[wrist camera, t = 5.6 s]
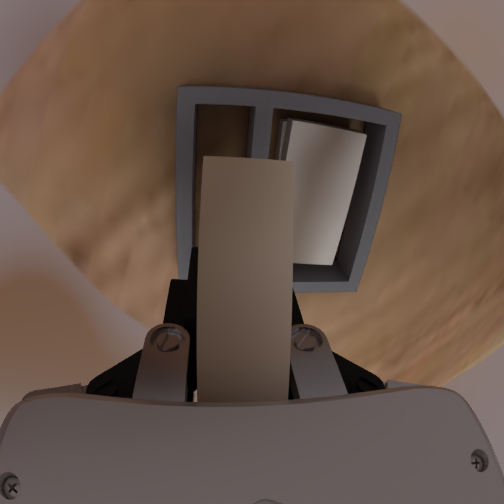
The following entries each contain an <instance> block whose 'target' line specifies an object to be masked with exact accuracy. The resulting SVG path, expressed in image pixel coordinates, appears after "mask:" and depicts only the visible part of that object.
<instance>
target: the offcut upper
mask: <svg viewBox="0 0 504 504" xmlns="http://www.w3.org/2000/svg"><path fill="white" fill-rule="evenodd" d="M366 137H367V135H366V134H364V133H362V132H360V131H358V130H354V129H349V128H344V127H340V126H335V125H330V124H325V123H319V122H314V121H308V120H302V119H296V118H290V117H288V119H287V125H286V131H285V137H284V143H283V148H282V154H281V160H282V161H293V263H300V264H318V265H332V264H333V261H334V257H335V254H336V251H337V247H338V244H339V241H340V237H341V234H342V230H343V227H344V223H345V220H346V216H347V213H348V209H349V205H350V202H351V198H352V194H353V190H354V186H355V182H356V179H357V175H358V171H359V166H360V162H361V158H362V154H363V150H364V145H365V141H366Z"/></svg>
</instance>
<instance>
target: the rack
mask: <svg viewBox="0 0 504 504" xmlns="http://www.w3.org/2000/svg"><path fill="white" fill-rule="evenodd" d="M198 104H220V105H241V106H250V116H249V127H248V139H247V150H246V158H256V159H268V156H269V147H270V137H271V128H272V118H273V109H274V108H278V109H288V110H297V111H305V112H312V113H320V114H326V115H333V116H339V117H345V118H351V119H357V120H362V121H366V125H365V131H364V134H366V135H367V137H366V141H365V145H364V150H363V154H362V158H361V162H360V166H359V171H358V175H357V179H356V182H355V186H354V190H353V194H352V198H351V202H350V207H349V211H348V216H347V220H346V224H345V229H344V233H343V237H342V241H341V245H340V249H339V253H338V257H337V260H334V261H333V264H332V265H318V264H300V263H293V290H294V293H313V292H357V289H358V286H359V283H360V280H361V276H362V273H363V270H364V267H365V264H366V261H367V257H368V254H369V251H370V247H371V244H372V240H373V237H374V233H375V230H376V226H377V223H378V219H379V215H380V211H381V208H382V204H383V200H384V196H385V192H386V188H387V183H388V179H389V175H390V170H391V166H392V161H393V157H394V152H395V147H396V142H397V137H398V132H399V126H400V121H401V115H402V114H400V113H397V112H394V111H391V110H387V109H384V108H381V107H376V106H372V105H367V104H362V103H358V102H353V101H347V100H342V99H336V98H331V97H325V96H318V95H312V94H305V93H297V92H289V91H280V90H271V89H260V88H247V87H231V86H204V85H183V86H179V87H178V94H177V119H176V229H177V256H178V276H179V279H183V280H188V272H189V264H190V256H191V249H192V247H195V162H196V133H197V111H198Z"/></svg>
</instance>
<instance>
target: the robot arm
mask: <svg viewBox="0 0 504 504" xmlns="http://www.w3.org/2000/svg"><path fill="white" fill-rule="evenodd" d="M197 279H198V247H192V249H191V256H190V264H189V272H188V280H183V279H171V282H170V287H169V293H168V298H167V304H166V309H165V315H164V321H163V324H160V325H157V326H155V327H153V328H152V329H151V330H150V331H149V332H148V333H147V335H146V337H145V342H144V346H143V349H141V350H140V351H138V352H137V353H135V354H133V355H132V356H130V357H128V358H127V359H125V360H123V361H122V362H120V363H118V364H117V365H115V366H113V367H112V368H110V369H108V370H107V371H105V372H103V373H102V374H100V375H98V376H97V377H95V378H94V379H93V380H91V381H90V383H89V384H88V385H86V386H82V385H81V383H79V384H73V385H67V386H61V387H55V388H48V389H42V390H34V391H31V392H29V393H27V394H26V395H25V396H24V397H23V399H22V400H21V401H20V402H18V403H17V404H15V405H14V406H13V407H12V408H11V410H10V411H9V412H8V414H7V416H6V417H5V419H4V421H3V423H2V425H1V428H0V504H504V475H503V473H502V470H501V467H500V465H499V463H498V460H497V457H496V455H495V453H494V450H493V448H492V445H491V443H490V441H489V439H488V437H487V435H486V433H485V431H484V429H483V427H482V425H481V423H480V421H479V420H478V418H477V416H476V414H475V413H474V411H473V410H472V408H471V407H470V405H469V404H468V402H467V401H466V400H465V399H464V398H463V397H462V396H461V395H460V394H458V393H457V392H455V391H453V390H450V389H447V388H442V387H436V386H427V385H419V384H411V383H404V382H397V381H391V380H387V382H386V383H384V382H382V381H381V379H380V378H379V377H377V376H376V375H374V374H373V373H371V372H369V371H367V370H365V369H363V368H361V367H360V366H358V365H356V364H354V363H352V362H351V361H349V360H347V359H345V358H343V357H341V356H340V355H338V354H336V353H334V352H333V351H332V350H331V348H330V345H329V343H328V340H327V337H326V336H325V334H324V333H323V332H322V331H321V330H320V329H319V328H317V327H315V326H312V325H308V324H304V322H303V319H302V316H301V312H300V309H299V306H298V303H297V299H296V296H295V293H294V290H293V288H292V324H291V350H290V373H289V392H288V400H280V401H261V402H194V391H195V390H196V389H197Z"/></svg>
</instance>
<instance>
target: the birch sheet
mask: <svg viewBox="0 0 504 504" xmlns="http://www.w3.org/2000/svg"><path fill="white" fill-rule="evenodd" d="M292 288H293V161H282V160H270V159H256V158H240V157H220V156H203V170H202V186H201V203H200V223H199V247H198V279H197V398H198V399H197V401H198V402H261V401H280V400H288V392H289V373H290V350H291V324H292Z"/></svg>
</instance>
